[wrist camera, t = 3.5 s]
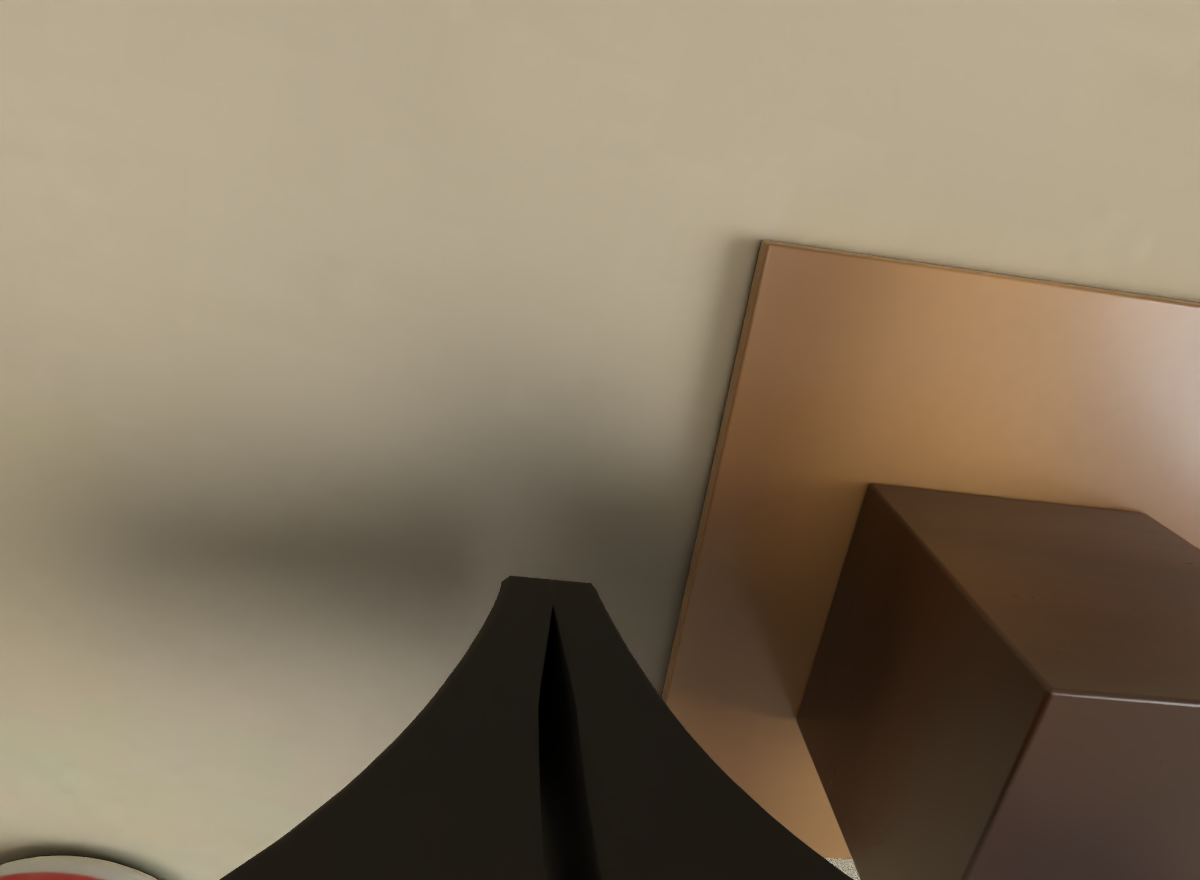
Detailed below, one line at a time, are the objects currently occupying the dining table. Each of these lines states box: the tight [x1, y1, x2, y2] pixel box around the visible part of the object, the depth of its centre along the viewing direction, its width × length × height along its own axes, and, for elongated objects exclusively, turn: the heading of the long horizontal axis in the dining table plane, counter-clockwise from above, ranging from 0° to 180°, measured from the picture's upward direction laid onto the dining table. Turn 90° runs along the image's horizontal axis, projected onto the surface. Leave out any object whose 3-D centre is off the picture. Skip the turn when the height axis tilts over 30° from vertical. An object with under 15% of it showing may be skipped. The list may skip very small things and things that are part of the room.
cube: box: [796, 483, 1200, 880], centre depth 11 cm, size 5×5×5 cm
